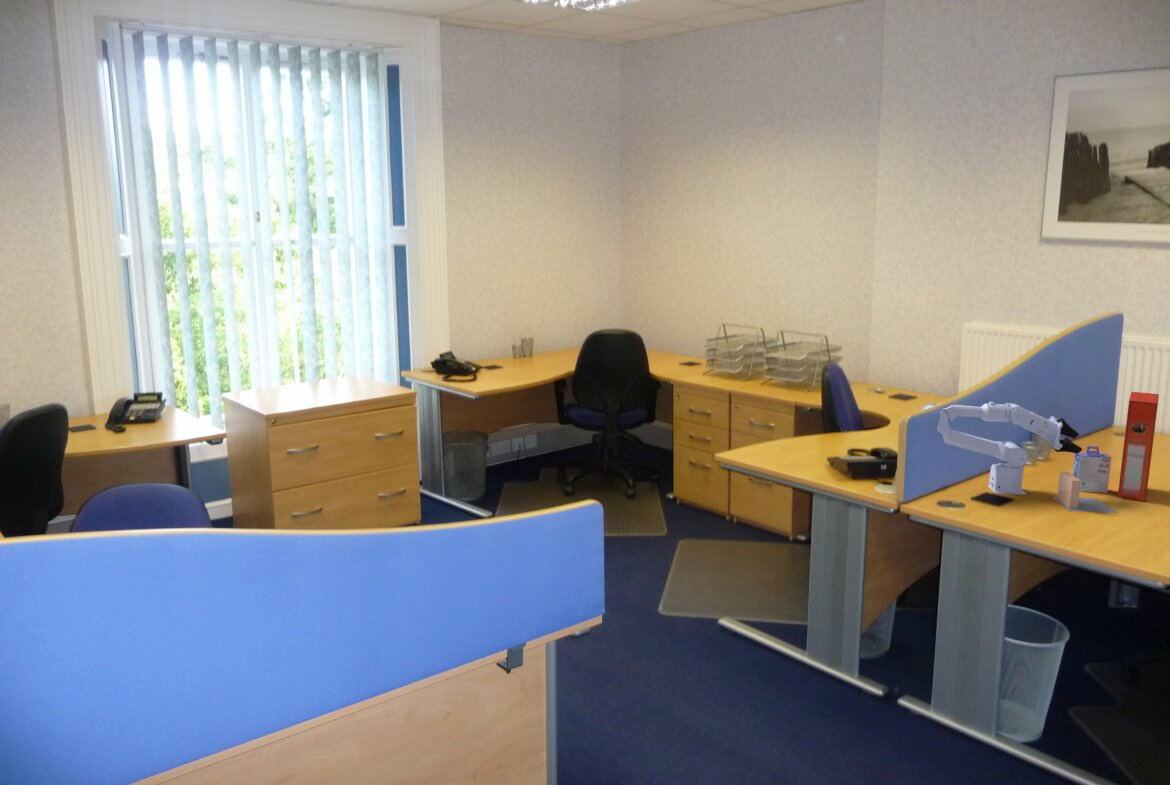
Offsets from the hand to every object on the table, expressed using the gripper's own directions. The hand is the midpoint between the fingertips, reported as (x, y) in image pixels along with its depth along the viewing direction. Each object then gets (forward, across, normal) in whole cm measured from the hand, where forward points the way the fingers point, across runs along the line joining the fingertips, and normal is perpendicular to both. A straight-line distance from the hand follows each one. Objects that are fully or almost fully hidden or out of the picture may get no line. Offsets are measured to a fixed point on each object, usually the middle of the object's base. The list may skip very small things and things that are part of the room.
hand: (1078, 443), depth 299 cm
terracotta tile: (0, -20, +10) cm, 22 cm away
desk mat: (+5, -19, +8) cm, 21 cm away
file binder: (+25, -2, +8) cm, 26 cm away
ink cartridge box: (+13, -2, +13) cm, 19 cm away
